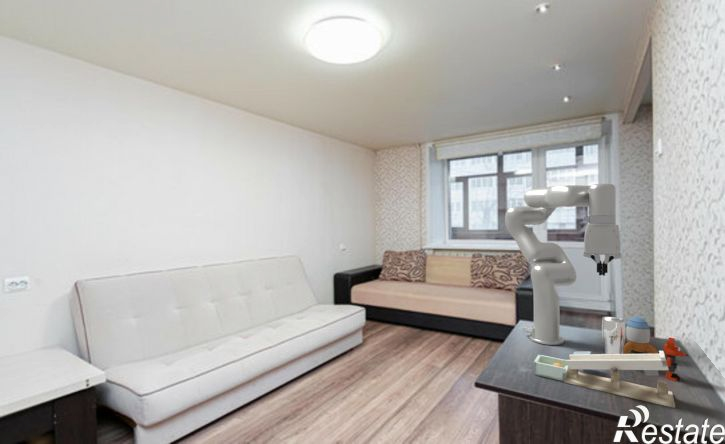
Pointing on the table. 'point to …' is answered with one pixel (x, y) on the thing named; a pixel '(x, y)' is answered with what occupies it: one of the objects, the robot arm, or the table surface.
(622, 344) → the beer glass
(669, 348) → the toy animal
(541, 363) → the tray
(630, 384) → the stand
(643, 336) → the toy rocket
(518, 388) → the table surface
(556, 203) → the robot arm
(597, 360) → the lever
